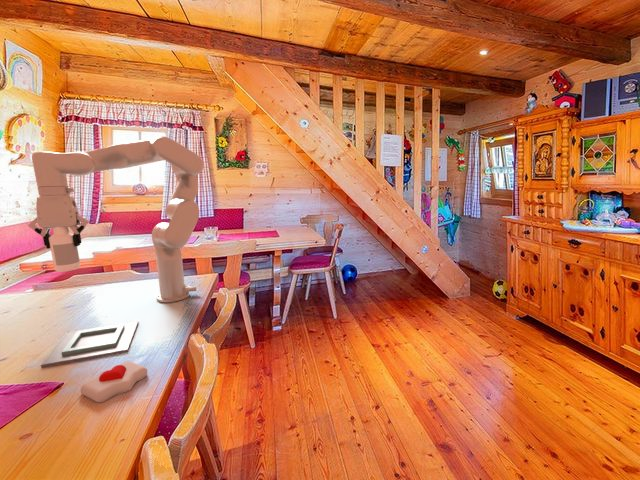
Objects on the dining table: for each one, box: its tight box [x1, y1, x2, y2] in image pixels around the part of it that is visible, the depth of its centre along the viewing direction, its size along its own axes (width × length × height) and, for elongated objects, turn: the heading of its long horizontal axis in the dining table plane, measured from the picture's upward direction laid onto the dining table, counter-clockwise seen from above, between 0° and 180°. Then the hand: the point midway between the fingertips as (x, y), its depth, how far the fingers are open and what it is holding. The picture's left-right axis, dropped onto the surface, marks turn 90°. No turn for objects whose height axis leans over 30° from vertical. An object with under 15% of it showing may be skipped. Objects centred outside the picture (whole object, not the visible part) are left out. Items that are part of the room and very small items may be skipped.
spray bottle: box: [49, 227, 81, 273], centre depth 105 cm, size 7×7×18 cm
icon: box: [79, 360, 148, 403], centre depth 77 cm, size 12×4×10 cm
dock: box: [40, 320, 139, 368], centre depth 97 cm, size 20×20×2 cm
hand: (63, 246), depth 105 cm, fingers closed on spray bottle, 6 cm apart
